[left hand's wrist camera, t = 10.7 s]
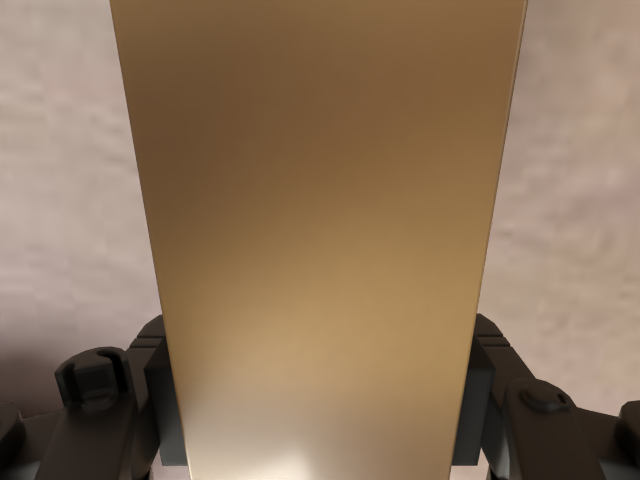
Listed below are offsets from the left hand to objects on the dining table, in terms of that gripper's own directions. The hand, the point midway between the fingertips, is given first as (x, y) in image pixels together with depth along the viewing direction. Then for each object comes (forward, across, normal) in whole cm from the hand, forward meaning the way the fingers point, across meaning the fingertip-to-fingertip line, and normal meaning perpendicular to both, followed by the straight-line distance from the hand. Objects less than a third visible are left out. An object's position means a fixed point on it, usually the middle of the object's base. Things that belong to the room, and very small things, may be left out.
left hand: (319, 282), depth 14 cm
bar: (+1, 0, -20) cm, 20 cm away
